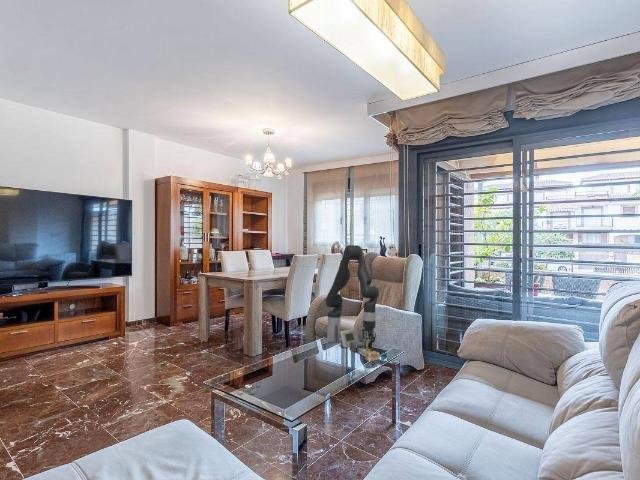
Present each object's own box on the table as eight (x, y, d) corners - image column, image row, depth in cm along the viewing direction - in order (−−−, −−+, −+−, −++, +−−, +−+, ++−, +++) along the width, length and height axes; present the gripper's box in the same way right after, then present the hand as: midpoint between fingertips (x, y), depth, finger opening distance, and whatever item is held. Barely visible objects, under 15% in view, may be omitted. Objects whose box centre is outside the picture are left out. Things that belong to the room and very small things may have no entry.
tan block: (364, 358, 213) (365, 351, 213) (374, 358, 216) (375, 351, 216) (369, 361, 208) (369, 354, 209) (379, 360, 211) (379, 353, 211)
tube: (355, 351, 228) (356, 335, 229) (360, 350, 229) (360, 334, 230) (369, 359, 212) (370, 341, 212) (374, 358, 213) (374, 341, 213)
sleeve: (349, 349, 233) (349, 342, 233) (358, 349, 235) (358, 341, 235) (354, 352, 226) (354, 344, 226) (363, 352, 229) (363, 344, 229)
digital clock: (343, 349, 235) (344, 332, 235) (335, 345, 242) (335, 330, 243) (362, 346, 244) (362, 330, 244) (353, 343, 251) (354, 327, 252)
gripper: (358, 317, 222) (357, 345, 222) (369, 321, 209) (368, 351, 209) (369, 317, 225) (368, 345, 224) (380, 321, 212) (379, 350, 211)
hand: (368, 348), depth 216 cm, fingers open, 3 cm apart
